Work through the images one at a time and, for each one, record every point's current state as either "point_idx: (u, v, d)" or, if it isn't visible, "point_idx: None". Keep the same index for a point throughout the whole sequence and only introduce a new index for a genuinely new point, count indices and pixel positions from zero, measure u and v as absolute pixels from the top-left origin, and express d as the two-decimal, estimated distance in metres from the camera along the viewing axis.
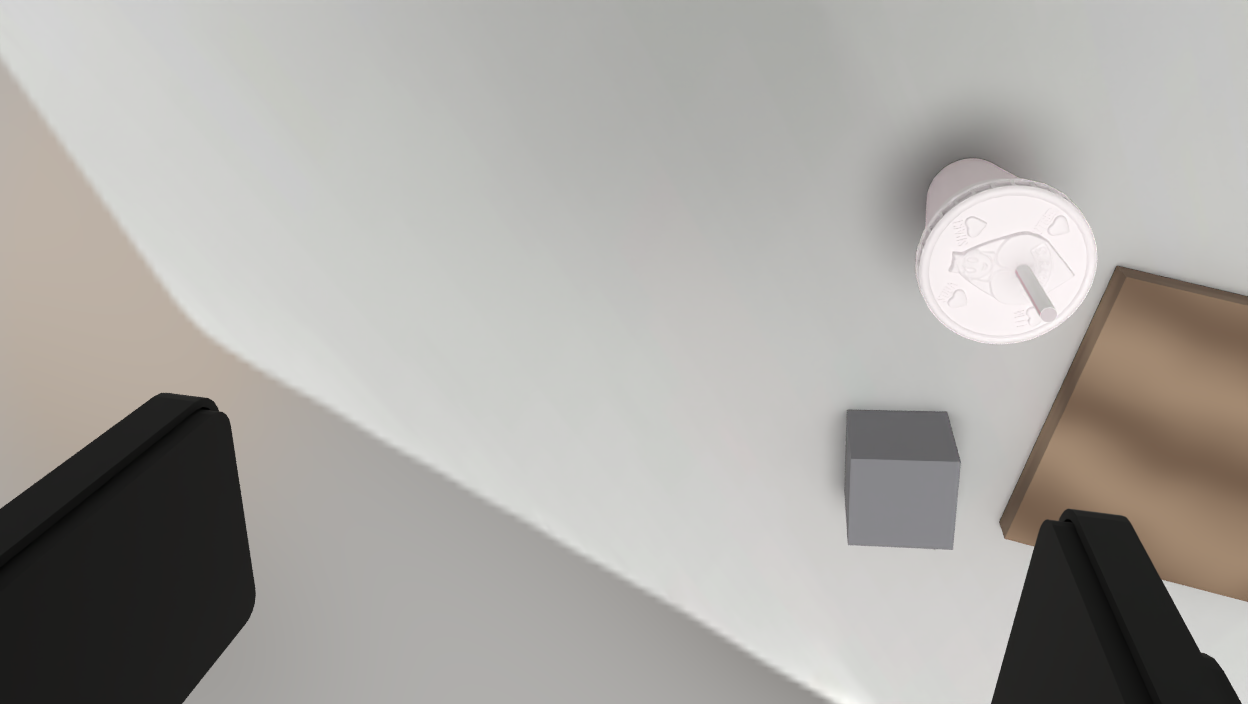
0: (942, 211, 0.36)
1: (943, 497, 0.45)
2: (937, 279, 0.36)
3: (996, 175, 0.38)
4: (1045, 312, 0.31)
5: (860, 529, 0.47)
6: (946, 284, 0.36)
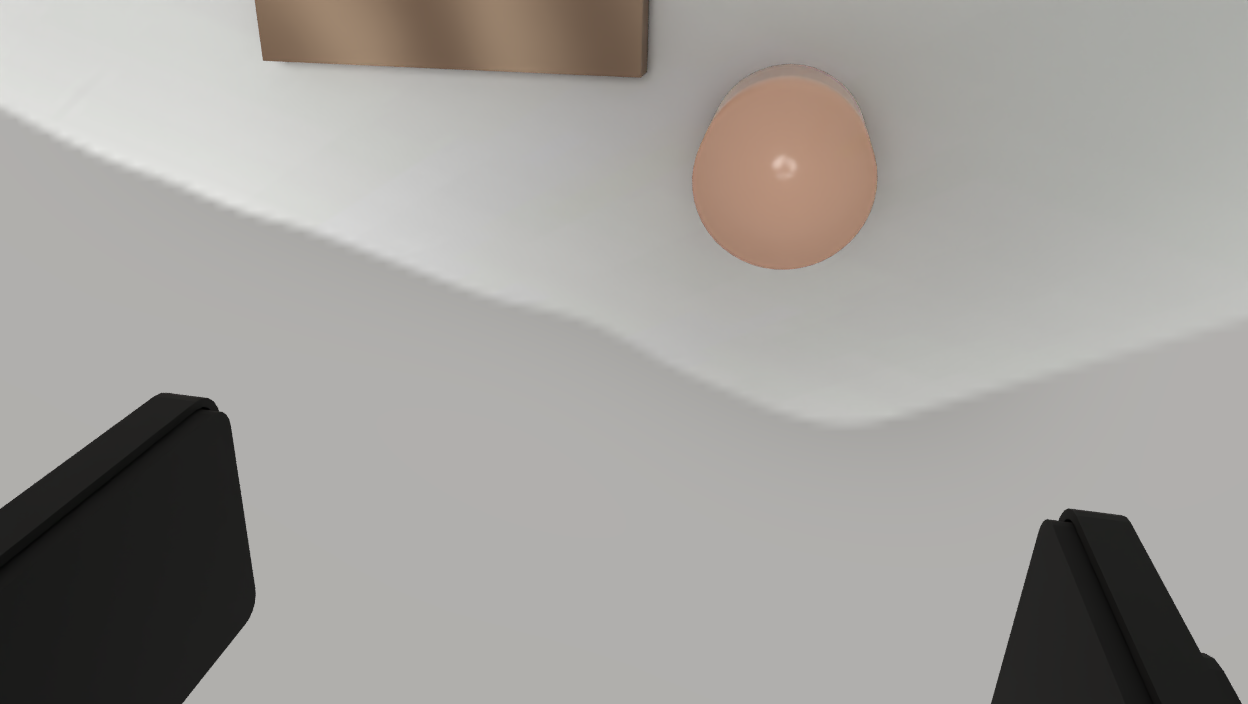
0: None
1: None
2: None
3: None
4: None
5: None
6: None
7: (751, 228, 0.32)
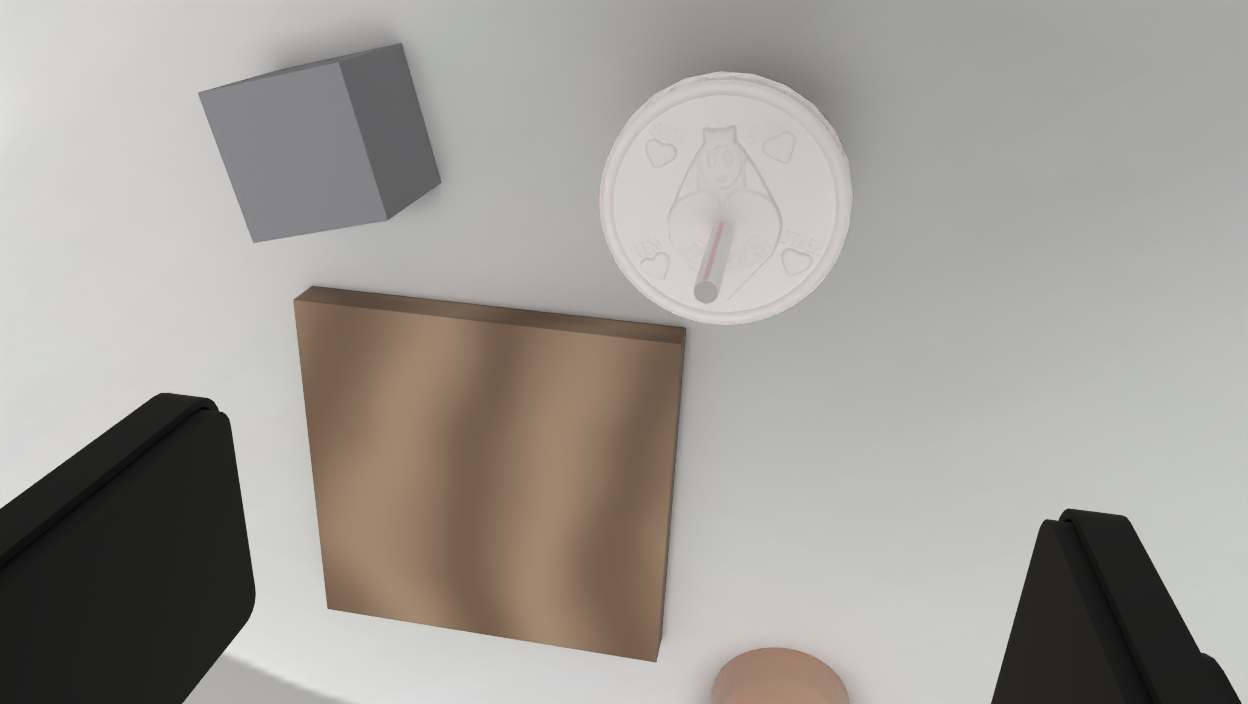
0: (790, 94, 0.23)
1: (325, 211, 0.31)
2: (686, 114, 0.23)
3: None
4: (707, 286, 0.20)
5: (230, 105, 0.30)
6: (681, 129, 0.23)
7: None
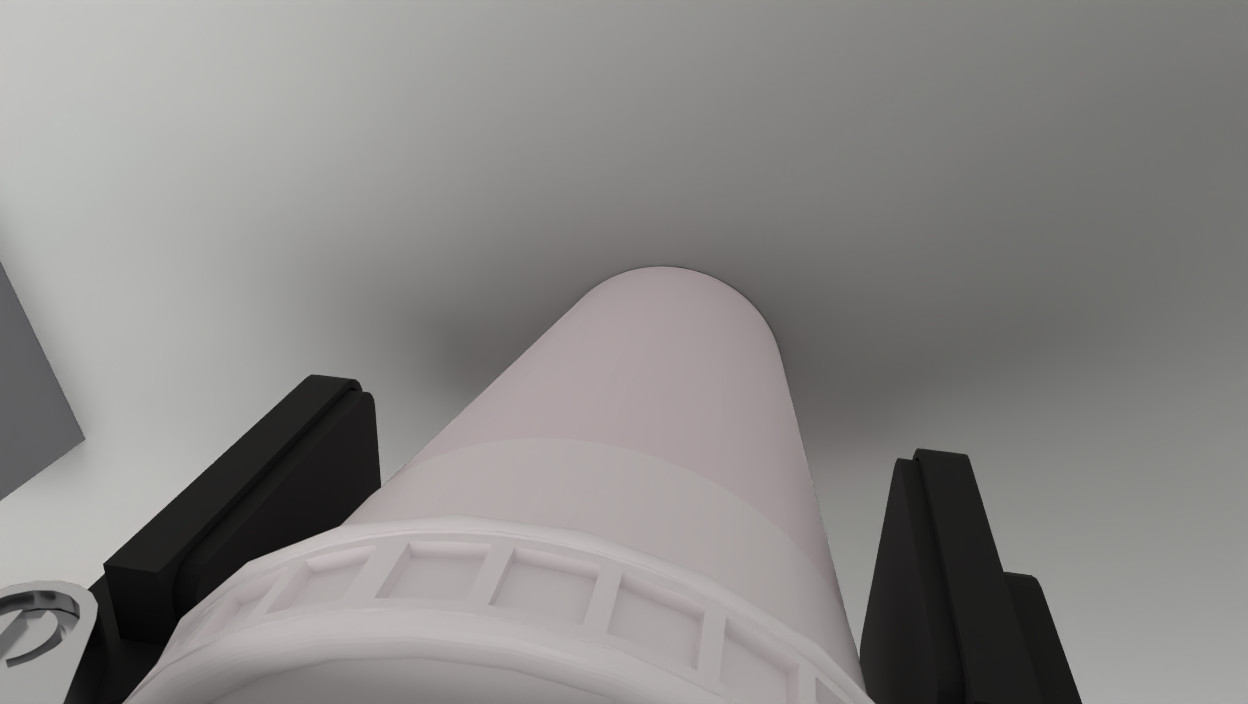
0: (726, 620, 0.06)
1: None
2: None
3: None
4: None
5: None
6: None
7: None
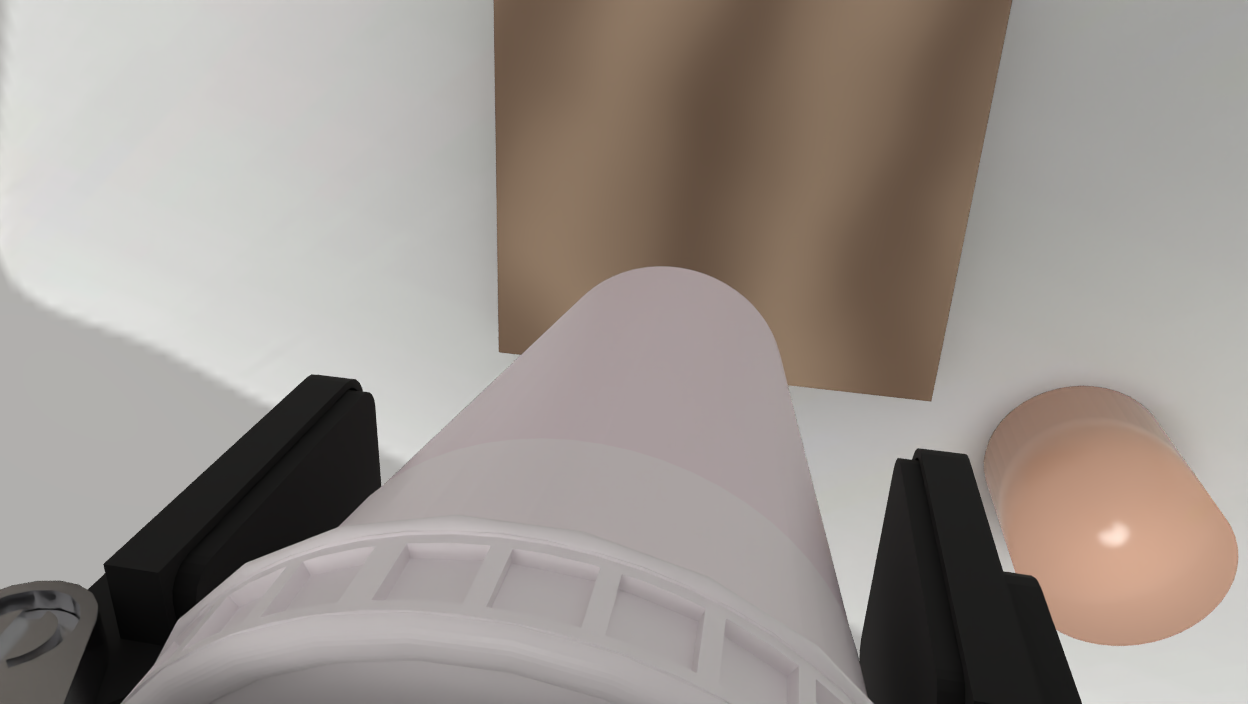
0: (726, 622, 0.06)
1: None
2: None
3: None
4: None
5: None
6: None
7: (1079, 604, 0.29)
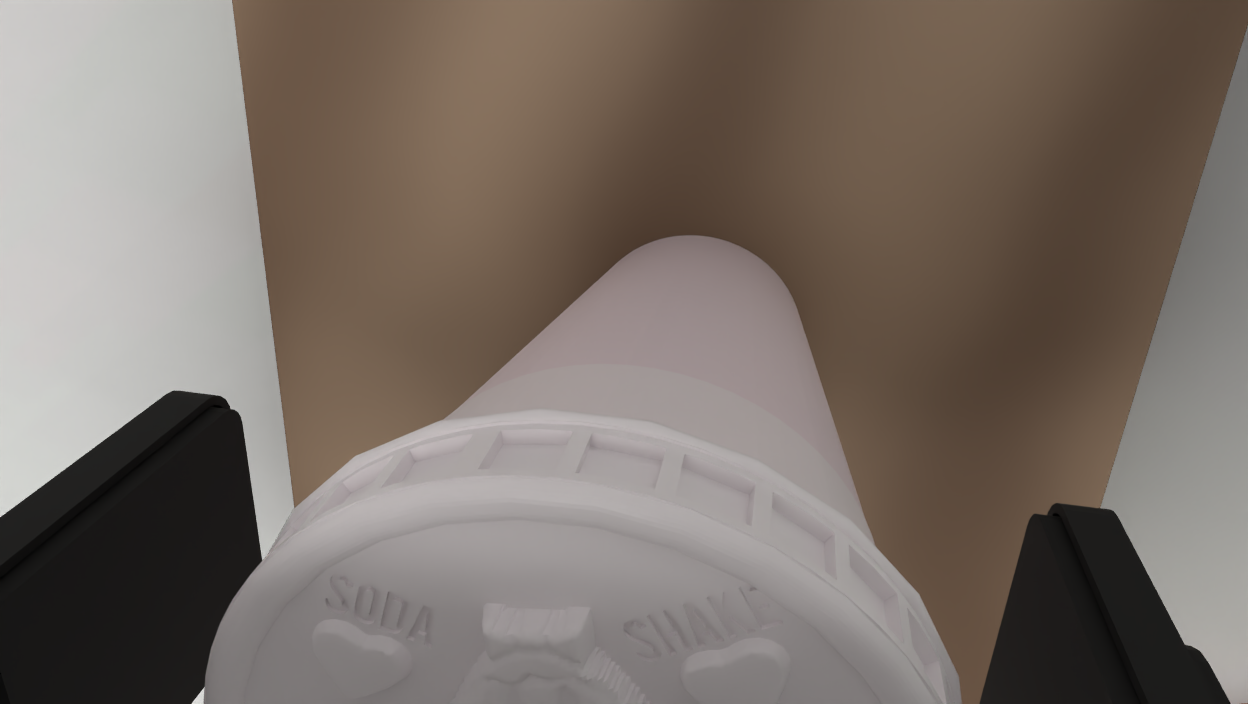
0: (772, 495, 0.07)
1: None
2: (426, 565, 0.07)
3: None
4: None
5: None
6: (415, 603, 0.07)
7: None
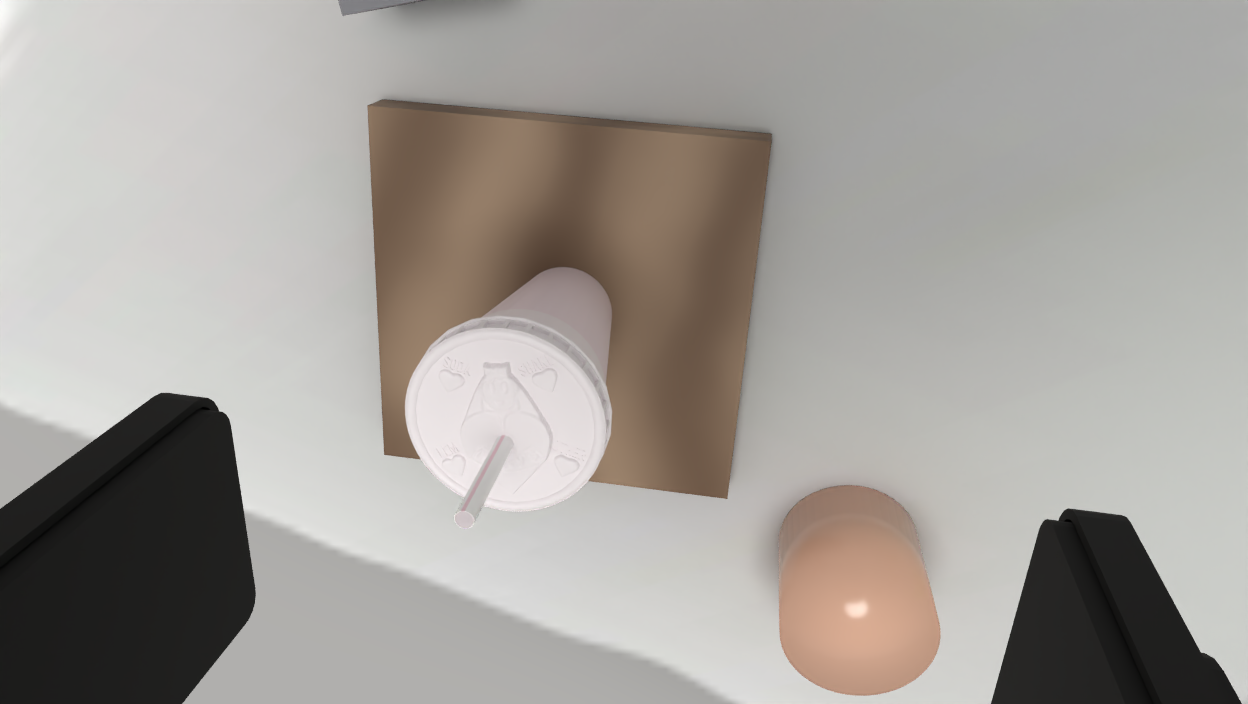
0: (554, 335, 0.28)
1: None
2: (469, 352, 0.28)
3: (604, 364, 0.32)
4: (465, 514, 0.25)
5: None
6: (466, 363, 0.28)
7: (828, 663, 0.37)
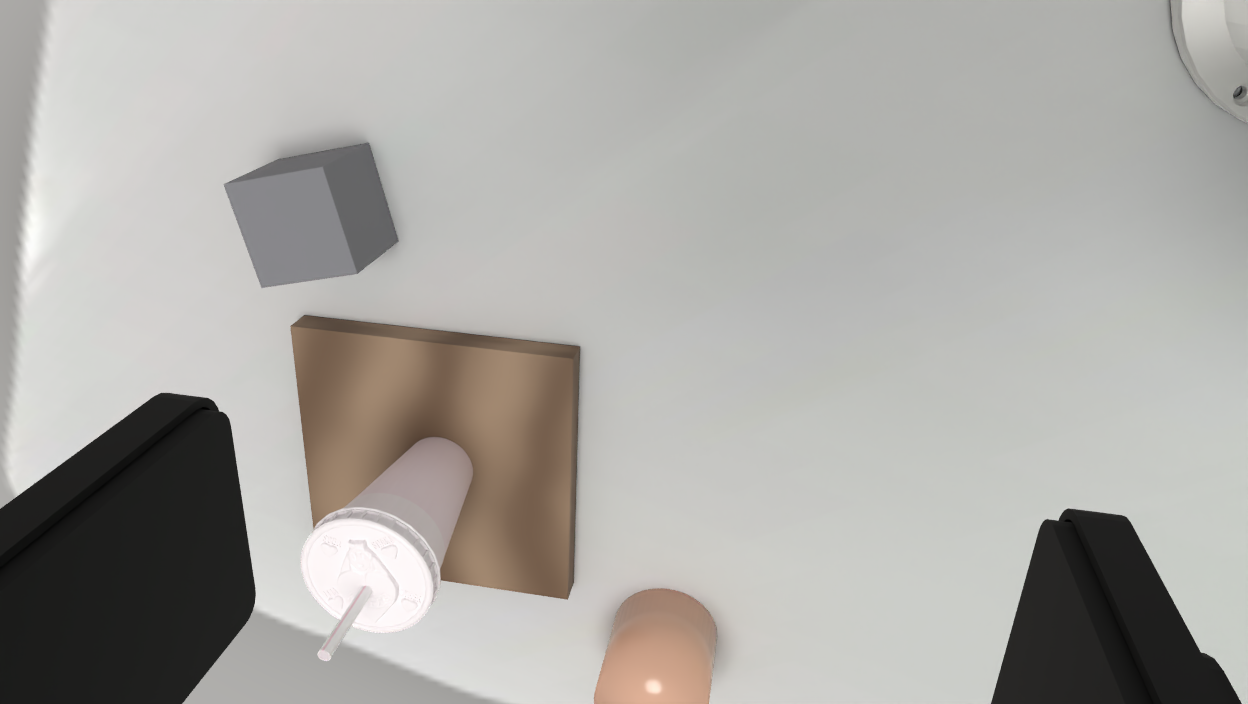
0: (396, 521, 0.42)
1: (313, 266, 0.44)
2: (339, 532, 0.42)
3: (446, 525, 0.45)
4: (325, 651, 0.39)
5: (246, 193, 0.43)
6: (338, 539, 0.42)
7: None
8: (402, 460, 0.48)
